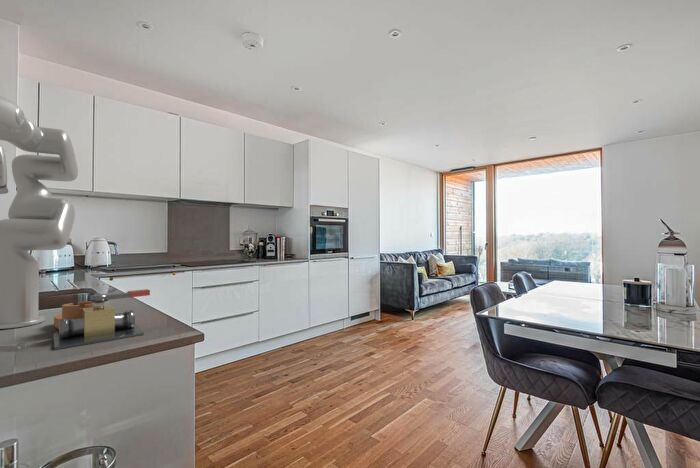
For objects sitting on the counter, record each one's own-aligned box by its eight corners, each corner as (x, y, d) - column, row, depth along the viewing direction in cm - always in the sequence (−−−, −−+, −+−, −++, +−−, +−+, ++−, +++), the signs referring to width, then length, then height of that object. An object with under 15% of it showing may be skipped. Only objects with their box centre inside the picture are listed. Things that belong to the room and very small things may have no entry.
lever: (92, 302, 87) (92, 296, 87) (89, 300, 90) (89, 294, 90) (150, 295, 98) (150, 290, 98) (146, 293, 100) (146, 288, 100)
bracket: (103, 327, 94) (103, 302, 95) (65, 333, 88) (66, 307, 88) (85, 319, 106) (85, 297, 106) (51, 324, 99) (51, 301, 99)
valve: (53, 335, 88) (53, 301, 88) (132, 323, 101) (133, 294, 101) (54, 349, 77) (55, 311, 77) (143, 334, 90) (144, 301, 90)
